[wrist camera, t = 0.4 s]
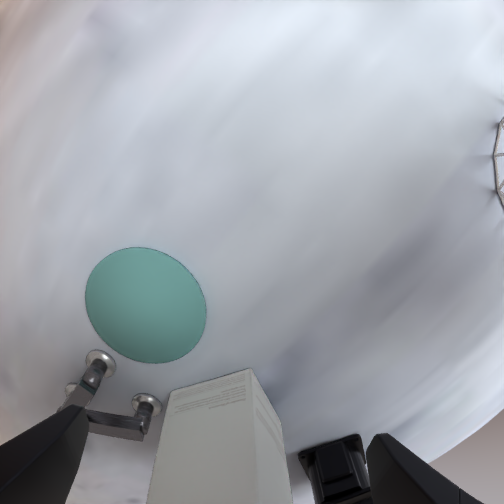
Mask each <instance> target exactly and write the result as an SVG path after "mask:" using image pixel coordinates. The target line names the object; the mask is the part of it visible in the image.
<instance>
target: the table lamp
mask: <svg viewBox="0 0 504 504" xmlns="http://www.w3.org/2000/svg"><path fill="white" fill-rule="evenodd" d="M503 124H504V118H503V120H502V121H501V122H500V124H499V130H498V136H497V141H496V146H495V151H494V161H495V171H496V183H497V192H498V194H499V196H500V199H501V201H502V203H503V206H504V193H503V192H502V191H500V190H501V188H502V187H503V185H504V180H503V182H502V183H501V185H500V186H499V177H498V166H497V156H504V153H498V154H497V149H498V144H499V138H500V132H501V126H502V128H503V129H504V126H503Z"/></svg>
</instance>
